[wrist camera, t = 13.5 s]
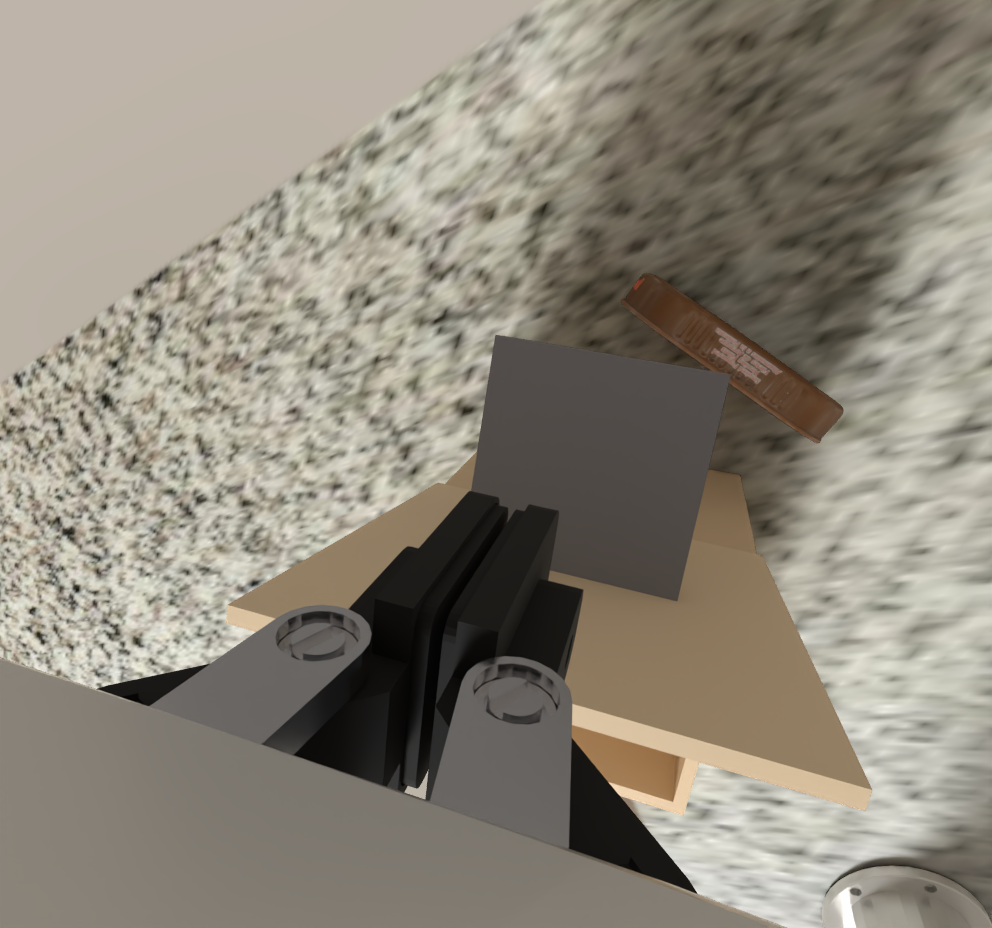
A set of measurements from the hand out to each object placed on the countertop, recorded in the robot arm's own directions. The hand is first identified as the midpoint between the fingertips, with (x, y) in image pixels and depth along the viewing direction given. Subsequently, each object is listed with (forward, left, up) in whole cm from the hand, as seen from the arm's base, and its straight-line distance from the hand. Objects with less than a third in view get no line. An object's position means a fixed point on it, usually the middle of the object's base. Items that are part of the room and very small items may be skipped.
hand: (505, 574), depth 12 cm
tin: (0, -6, -37) cm, 38 cm away
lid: (-8, 0, -13) cm, 16 cm away
